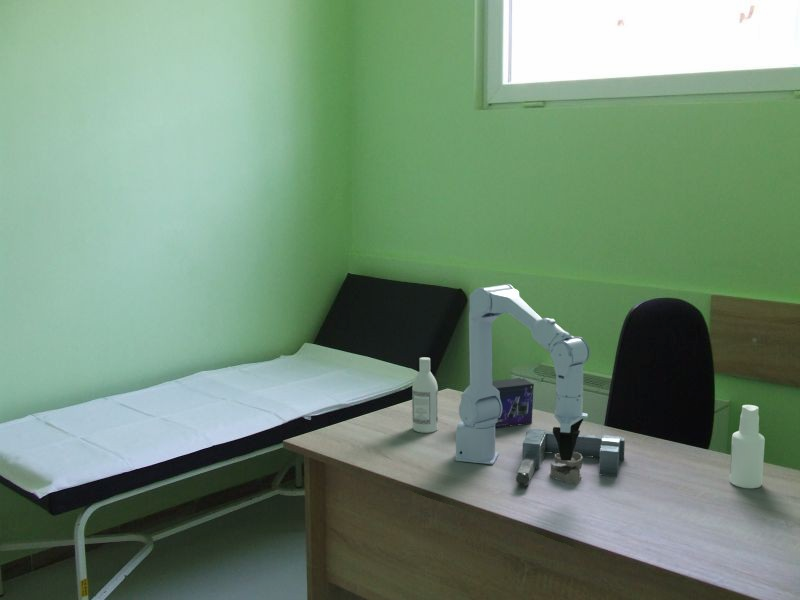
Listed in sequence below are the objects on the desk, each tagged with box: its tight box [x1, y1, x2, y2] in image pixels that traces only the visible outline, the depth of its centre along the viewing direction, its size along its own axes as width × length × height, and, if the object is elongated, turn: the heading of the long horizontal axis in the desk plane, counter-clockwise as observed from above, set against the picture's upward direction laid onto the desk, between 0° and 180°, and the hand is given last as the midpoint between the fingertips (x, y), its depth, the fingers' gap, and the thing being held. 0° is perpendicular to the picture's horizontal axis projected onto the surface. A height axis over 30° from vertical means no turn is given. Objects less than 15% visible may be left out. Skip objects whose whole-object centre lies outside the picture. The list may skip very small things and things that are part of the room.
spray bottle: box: [729, 404, 766, 489], centre depth 186 cm, size 7×7×18 cm
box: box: [492, 377, 535, 429], centre depth 229 cm, size 17×7×12 cm, turn 111°
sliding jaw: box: [515, 428, 547, 487], centre depth 196 cm, size 4×24×6 cm, turn 163°
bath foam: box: [411, 356, 439, 434], centre depth 225 cm, size 7×7×20 cm
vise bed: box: [525, 428, 626, 477], centre depth 201 cm, size 24×13×7 cm, turn 72°
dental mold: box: [550, 452, 583, 484], centre depth 192 cm, size 8×7×5 cm
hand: (567, 453), depth 181 cm, fingers open, 7 cm apart
